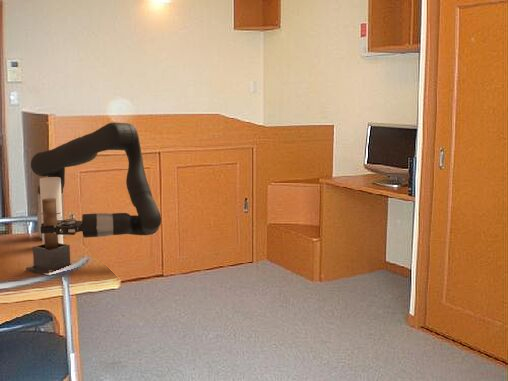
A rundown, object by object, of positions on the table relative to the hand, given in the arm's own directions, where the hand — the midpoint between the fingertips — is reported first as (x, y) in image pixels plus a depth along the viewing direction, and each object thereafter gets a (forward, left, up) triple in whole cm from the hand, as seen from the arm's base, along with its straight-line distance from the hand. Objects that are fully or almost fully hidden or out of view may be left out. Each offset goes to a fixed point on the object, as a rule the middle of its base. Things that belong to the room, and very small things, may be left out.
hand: (41, 228), depth 190 cm
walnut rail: (+2, +2, -11) cm, 11 cm away
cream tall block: (-21, +22, -13) cm, 33 cm away
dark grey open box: (+2, +2, -13) cm, 14 cm away
